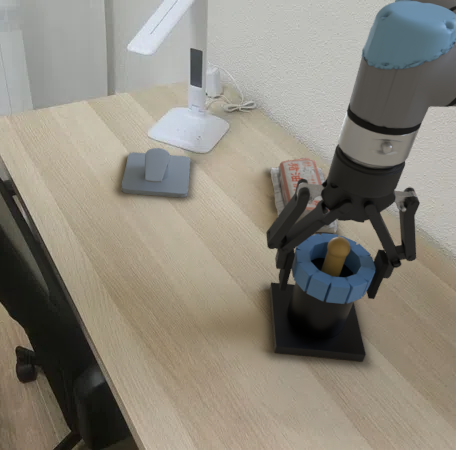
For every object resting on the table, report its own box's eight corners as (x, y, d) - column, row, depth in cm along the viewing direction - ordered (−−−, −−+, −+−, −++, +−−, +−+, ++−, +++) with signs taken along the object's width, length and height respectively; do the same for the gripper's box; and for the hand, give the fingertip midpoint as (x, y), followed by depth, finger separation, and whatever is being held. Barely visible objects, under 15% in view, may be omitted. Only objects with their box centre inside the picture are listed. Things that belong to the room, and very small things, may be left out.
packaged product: (344, 213, 92) (284, 210, 92) (337, 235, 95) (279, 231, 95) (325, 153, 105) (273, 150, 106) (319, 174, 109) (269, 171, 109)
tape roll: (360, 252, 77) (366, 236, 75) (375, 307, 69) (382, 290, 67) (288, 246, 78) (292, 230, 76) (295, 299, 70) (300, 283, 68)
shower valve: (118, 177, 97) (129, 132, 108) (118, 201, 100) (129, 155, 112) (188, 182, 96) (192, 137, 107) (186, 206, 100) (190, 160, 111)
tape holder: (348, 296, 84) (380, 213, 74) (362, 361, 75) (401, 278, 64) (269, 289, 85) (289, 206, 74) (274, 353, 76) (298, 268, 65)
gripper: (266, 161, 59) (239, 299, 73) (493, 180, 57) (420, 316, 72) (262, 125, 64) (238, 260, 79) (469, 141, 63) (406, 275, 77)
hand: (325, 287), depth 75 cm, fingers open, 11 cm apart
